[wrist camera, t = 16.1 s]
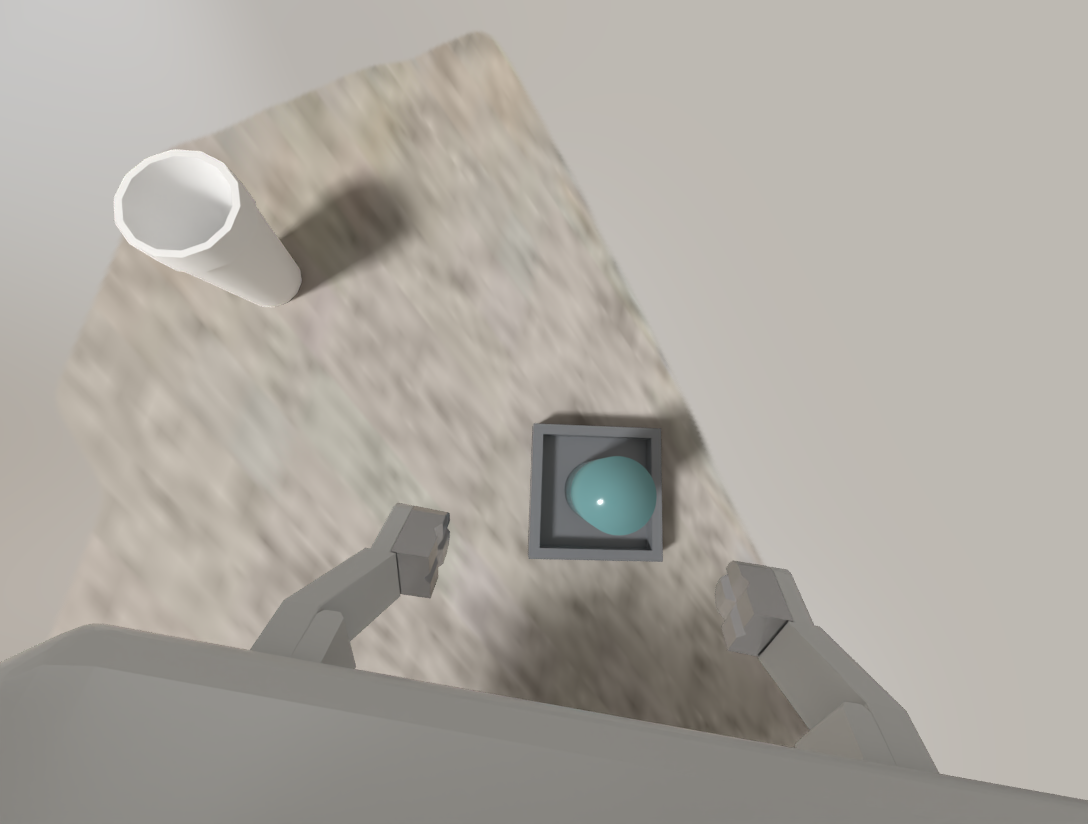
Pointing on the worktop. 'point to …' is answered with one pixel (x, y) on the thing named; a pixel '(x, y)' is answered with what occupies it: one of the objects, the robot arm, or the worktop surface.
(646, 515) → the teal cylinder
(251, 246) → the foam cup
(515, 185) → the worktop surface
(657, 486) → the tray
